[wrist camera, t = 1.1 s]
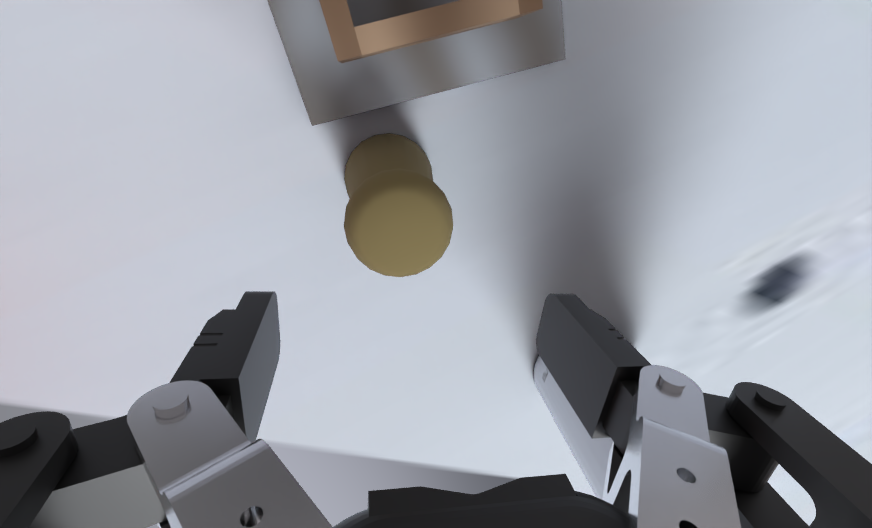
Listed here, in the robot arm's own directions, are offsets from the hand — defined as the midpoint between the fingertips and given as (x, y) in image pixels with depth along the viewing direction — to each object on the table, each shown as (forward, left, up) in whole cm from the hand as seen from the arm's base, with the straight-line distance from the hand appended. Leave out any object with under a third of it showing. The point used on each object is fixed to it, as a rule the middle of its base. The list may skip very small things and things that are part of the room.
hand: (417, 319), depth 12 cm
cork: (0, 0, -18) cm, 18 cm away
